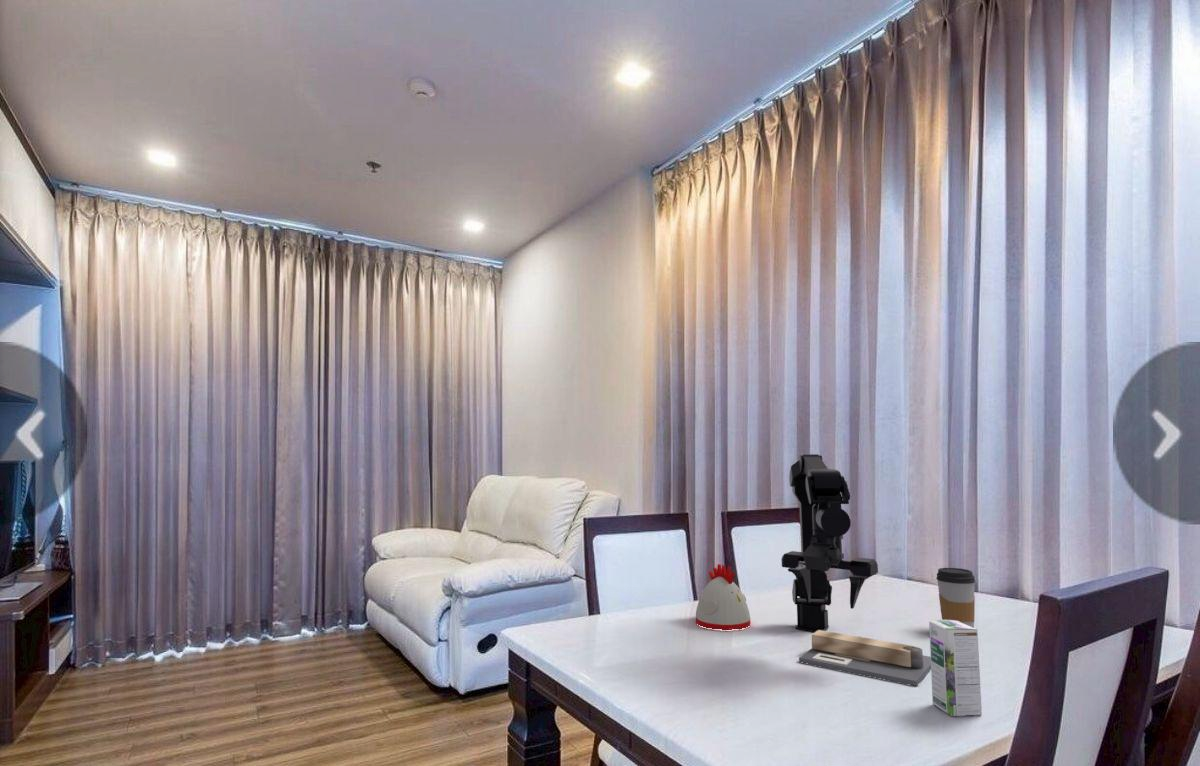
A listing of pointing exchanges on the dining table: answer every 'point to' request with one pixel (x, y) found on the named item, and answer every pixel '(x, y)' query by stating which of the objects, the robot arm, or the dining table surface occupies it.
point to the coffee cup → (957, 595)
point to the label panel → (868, 666)
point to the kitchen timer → (722, 603)
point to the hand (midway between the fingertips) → (830, 605)
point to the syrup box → (955, 667)
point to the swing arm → (868, 648)
